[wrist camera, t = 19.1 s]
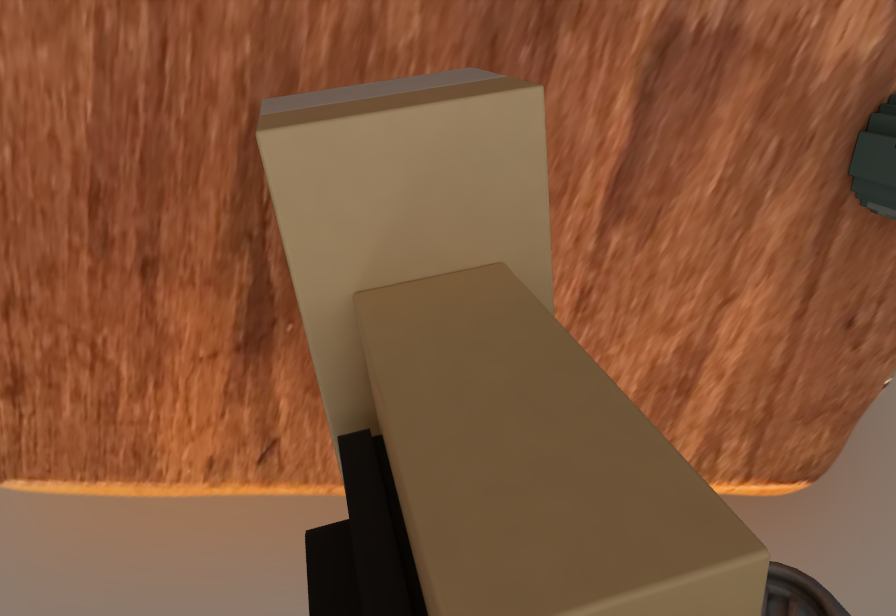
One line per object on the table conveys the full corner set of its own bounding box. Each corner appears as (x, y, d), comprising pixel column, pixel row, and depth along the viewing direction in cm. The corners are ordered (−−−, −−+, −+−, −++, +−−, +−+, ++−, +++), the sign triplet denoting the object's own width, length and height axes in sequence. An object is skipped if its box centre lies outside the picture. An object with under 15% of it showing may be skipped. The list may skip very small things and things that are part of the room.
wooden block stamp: (374, 570, 17) (474, 1137, 8) (259, 99, 11) (213, 350, 3) (517, 529, 17) (745, 1016, 9) (475, 66, 12) (953, 188, 3)
